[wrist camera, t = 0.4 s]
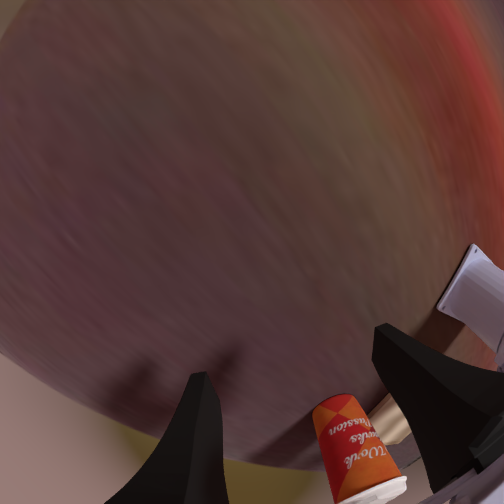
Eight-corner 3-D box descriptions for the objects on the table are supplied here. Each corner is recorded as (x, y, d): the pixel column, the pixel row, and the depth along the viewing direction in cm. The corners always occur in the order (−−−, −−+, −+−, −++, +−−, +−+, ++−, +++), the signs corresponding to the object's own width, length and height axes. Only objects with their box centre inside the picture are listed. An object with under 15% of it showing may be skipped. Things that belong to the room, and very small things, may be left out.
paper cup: (375, 389, 28) (425, 479, 15) (339, 426, 31) (373, 510, 18) (326, 384, 26) (374, 497, 13) (290, 424, 29) (318, 524, 16)
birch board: (464, 369, 32) (467, 372, 31) (396, 439, 37) (398, 443, 36) (415, 361, 28) (419, 366, 27) (333, 445, 33) (335, 449, 32)
